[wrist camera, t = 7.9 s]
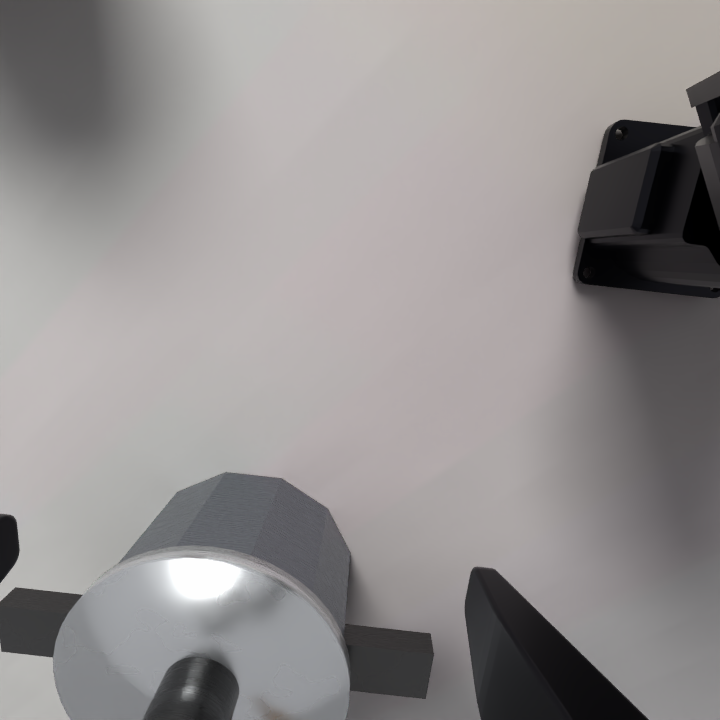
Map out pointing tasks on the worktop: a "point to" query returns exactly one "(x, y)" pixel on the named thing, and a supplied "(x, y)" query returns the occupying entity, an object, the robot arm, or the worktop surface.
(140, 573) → the lid
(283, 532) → the pot
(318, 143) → the worktop surface
